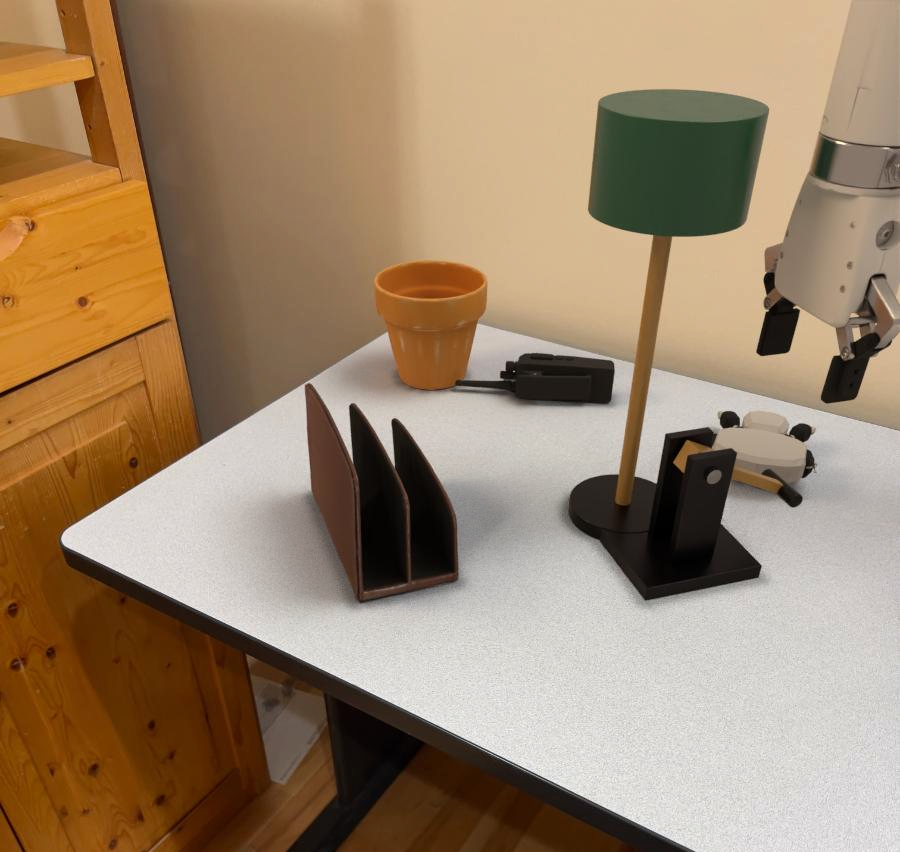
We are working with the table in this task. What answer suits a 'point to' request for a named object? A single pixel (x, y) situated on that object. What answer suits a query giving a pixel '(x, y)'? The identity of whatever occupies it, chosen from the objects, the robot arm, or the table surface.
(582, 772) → the table surface
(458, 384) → the walkie-talkie
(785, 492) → the switch lever
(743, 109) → the desk lamp
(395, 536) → the letter holder
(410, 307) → the flower pot
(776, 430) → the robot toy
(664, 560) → the black pivot bracket
